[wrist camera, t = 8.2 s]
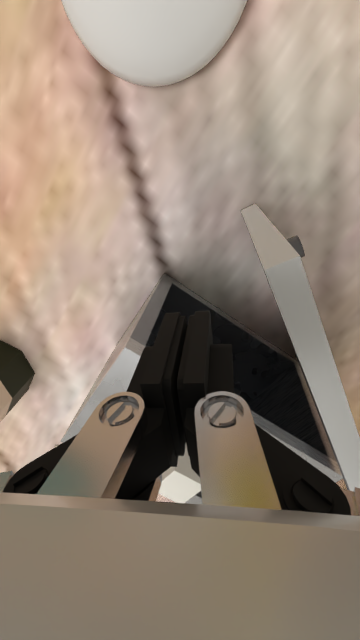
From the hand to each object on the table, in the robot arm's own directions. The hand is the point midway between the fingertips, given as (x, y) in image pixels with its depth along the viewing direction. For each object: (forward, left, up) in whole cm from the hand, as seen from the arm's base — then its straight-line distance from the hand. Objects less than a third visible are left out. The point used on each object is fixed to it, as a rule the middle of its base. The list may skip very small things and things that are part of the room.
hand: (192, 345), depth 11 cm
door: (-8, -1, -15) cm, 17 cm away
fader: (-5, +8, -3) cm, 10 cm away
